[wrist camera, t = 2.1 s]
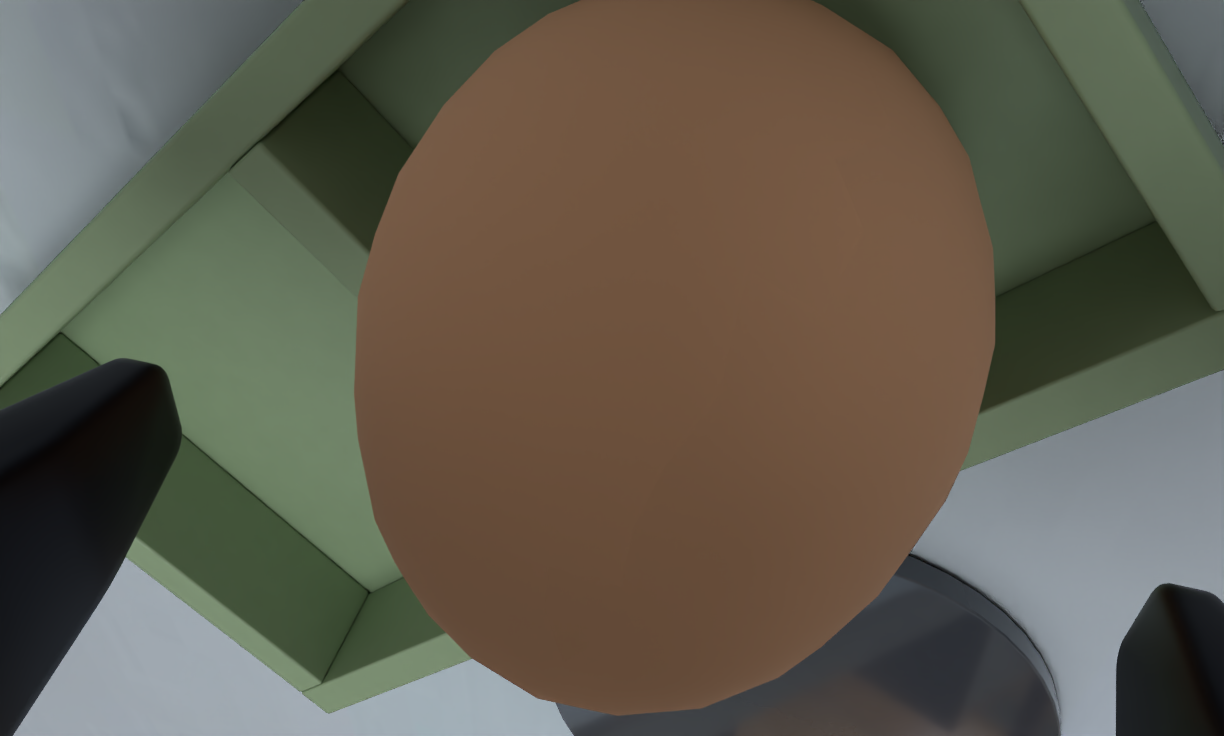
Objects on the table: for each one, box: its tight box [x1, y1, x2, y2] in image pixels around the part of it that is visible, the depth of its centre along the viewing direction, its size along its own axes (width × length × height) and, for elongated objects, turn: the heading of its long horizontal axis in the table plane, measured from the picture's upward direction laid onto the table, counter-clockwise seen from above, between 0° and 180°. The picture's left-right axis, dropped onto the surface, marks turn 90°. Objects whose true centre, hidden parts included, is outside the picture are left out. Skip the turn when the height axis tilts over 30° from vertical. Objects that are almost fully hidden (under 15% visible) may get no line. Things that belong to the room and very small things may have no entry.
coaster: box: [555, 556, 1061, 736], centre depth 23 cm, size 11×11×1 cm
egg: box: [354, 0, 995, 716], centre depth 12 cm, size 7×7×9 cm
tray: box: [0, 0, 1224, 713], centre depth 17 cm, size 10×19×3 cm, turn 131°
